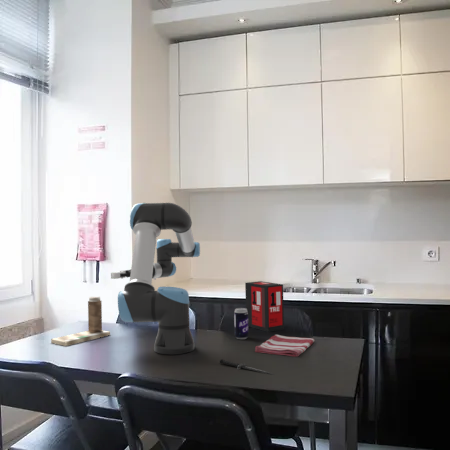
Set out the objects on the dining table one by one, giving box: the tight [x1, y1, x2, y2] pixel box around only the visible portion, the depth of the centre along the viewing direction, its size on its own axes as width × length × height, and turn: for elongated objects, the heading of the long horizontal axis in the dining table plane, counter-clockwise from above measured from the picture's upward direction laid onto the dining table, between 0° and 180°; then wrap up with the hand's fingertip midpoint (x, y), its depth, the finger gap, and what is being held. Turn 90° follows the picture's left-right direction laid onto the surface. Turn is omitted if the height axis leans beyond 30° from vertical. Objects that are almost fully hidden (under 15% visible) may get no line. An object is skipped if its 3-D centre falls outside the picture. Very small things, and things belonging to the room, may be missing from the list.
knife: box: [219, 359, 275, 376], centre depth 146 cm, size 25×2×5 cm
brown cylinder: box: [87, 296, 103, 333], centre depth 198 cm, size 5×7×15 cm, turn 53°
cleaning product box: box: [244, 280, 285, 333], centre depth 209 cm, size 16×9×20 cm, turn 33°
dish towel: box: [254, 334, 316, 358], centre depth 174 cm, size 17×23×3 cm
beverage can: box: [233, 307, 249, 340], centre depth 189 cm, size 6×6×12 cm
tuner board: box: [50, 329, 111, 347], centre depth 193 cm, size 22×10×2 cm, turn 143°
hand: (112, 275), depth 207 cm, fingers closed
